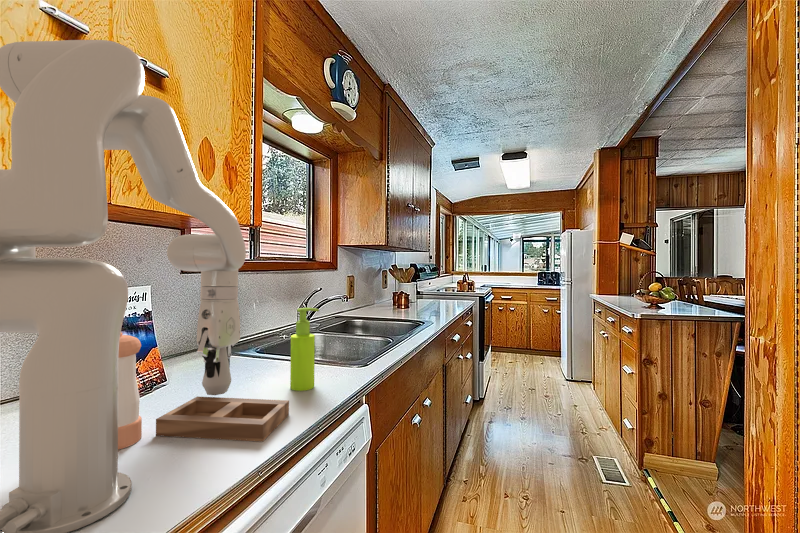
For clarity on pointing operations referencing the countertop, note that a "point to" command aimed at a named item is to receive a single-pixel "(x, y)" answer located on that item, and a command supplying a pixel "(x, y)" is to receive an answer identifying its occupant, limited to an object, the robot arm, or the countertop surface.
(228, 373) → the salt shaker
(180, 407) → the caddy
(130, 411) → the pepper shaker
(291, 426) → the countertop surface
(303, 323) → the soap dispenser
